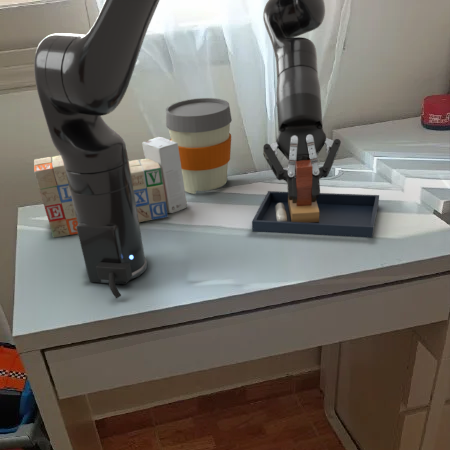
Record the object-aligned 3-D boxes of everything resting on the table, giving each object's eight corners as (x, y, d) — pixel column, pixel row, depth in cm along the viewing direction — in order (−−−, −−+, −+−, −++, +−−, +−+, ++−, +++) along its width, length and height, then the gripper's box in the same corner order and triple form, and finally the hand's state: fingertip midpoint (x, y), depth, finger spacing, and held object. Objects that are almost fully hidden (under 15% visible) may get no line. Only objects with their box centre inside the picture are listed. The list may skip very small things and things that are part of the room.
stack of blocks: (163, 205, 117) (153, 139, 109) (168, 218, 112) (158, 150, 104) (51, 224, 114) (33, 158, 106) (52, 238, 109) (33, 170, 101)
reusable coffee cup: (241, 175, 126) (237, 97, 117) (227, 198, 117) (221, 116, 108) (184, 173, 129) (176, 97, 120) (166, 197, 120) (155, 116, 111)
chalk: (277, 227, 105) (287, 226, 104) (276, 217, 103) (287, 216, 103) (275, 211, 110) (285, 210, 110) (274, 201, 109) (284, 200, 108)
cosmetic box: (188, 207, 115) (180, 142, 108) (169, 215, 114) (159, 148, 106) (170, 198, 119) (161, 134, 111) (151, 205, 117) (141, 141, 110)
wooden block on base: (318, 227, 103) (320, 172, 97) (291, 229, 104) (292, 174, 97) (313, 206, 110) (314, 153, 104) (288, 207, 110) (287, 155, 104)
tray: (371, 242, 100) (373, 227, 98) (252, 235, 105) (251, 221, 103) (378, 209, 109) (379, 195, 108) (268, 204, 114) (268, 190, 112)
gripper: (258, 93, 101) (263, 194, 99) (342, 87, 100) (349, 188, 99) (258, 118, 108) (263, 212, 107) (336, 112, 108) (342, 207, 106)
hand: (304, 200), depth 103 cm, fingers closed on wooden block on base, 2 cm apart
